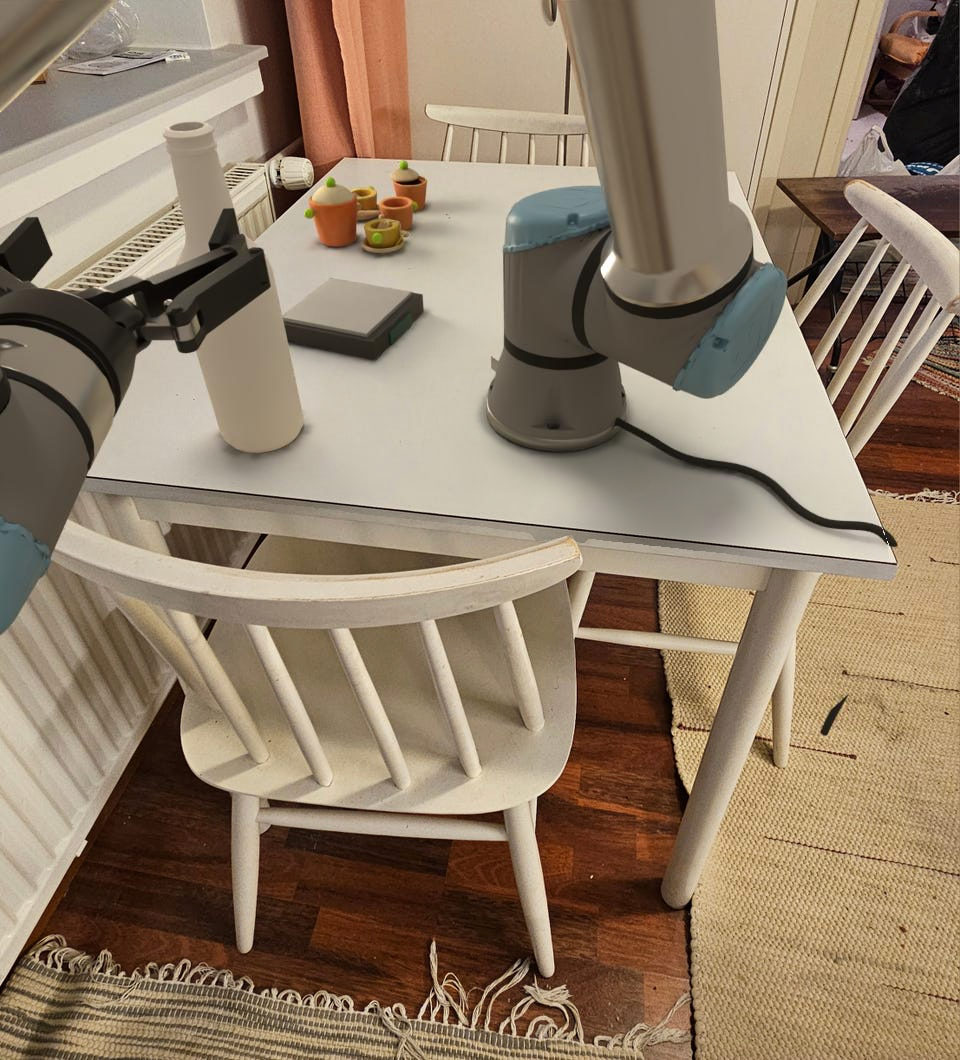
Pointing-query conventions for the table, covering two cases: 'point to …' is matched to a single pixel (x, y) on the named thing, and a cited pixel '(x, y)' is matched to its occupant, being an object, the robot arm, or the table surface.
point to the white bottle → (250, 334)
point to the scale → (352, 318)
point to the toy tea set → (368, 211)
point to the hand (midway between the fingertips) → (137, 231)
